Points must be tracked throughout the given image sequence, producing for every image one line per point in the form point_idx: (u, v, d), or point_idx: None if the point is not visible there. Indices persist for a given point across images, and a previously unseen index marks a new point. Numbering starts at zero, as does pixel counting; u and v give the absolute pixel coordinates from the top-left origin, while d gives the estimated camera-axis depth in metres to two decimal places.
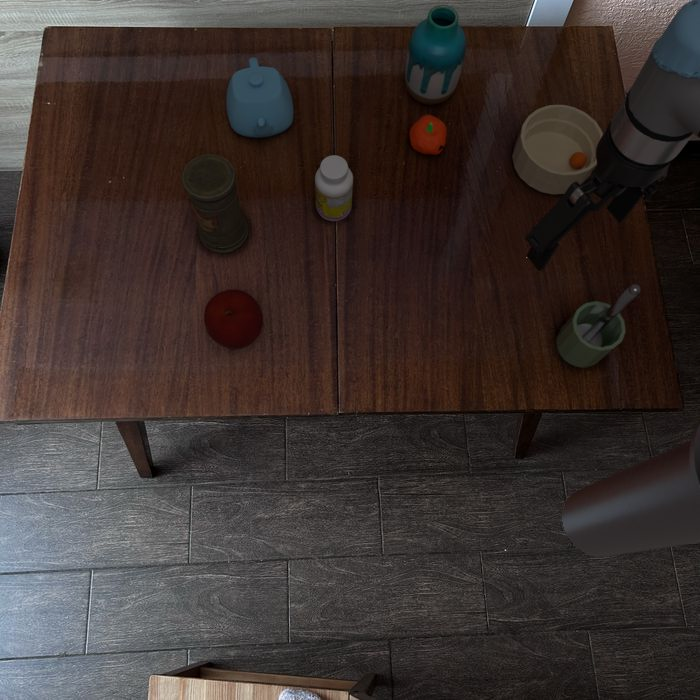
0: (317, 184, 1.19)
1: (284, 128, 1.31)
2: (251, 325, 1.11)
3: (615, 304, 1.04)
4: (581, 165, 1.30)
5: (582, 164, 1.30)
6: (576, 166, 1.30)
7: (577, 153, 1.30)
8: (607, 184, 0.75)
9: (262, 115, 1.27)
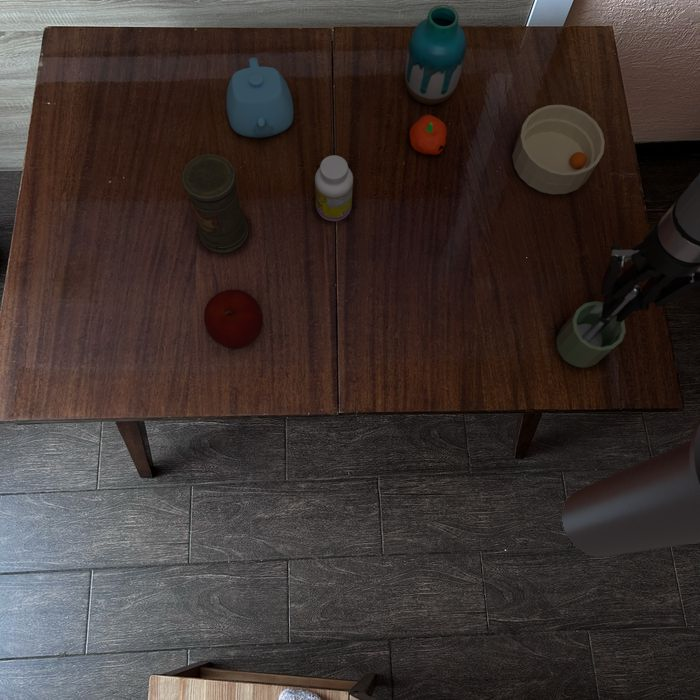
0: (317, 184, 1.19)
1: (284, 128, 1.31)
2: (251, 325, 1.11)
3: None
4: (581, 165, 1.30)
5: (582, 164, 1.30)
6: (576, 166, 1.30)
7: (577, 153, 1.30)
8: (641, 255, 0.89)
9: (262, 115, 1.27)
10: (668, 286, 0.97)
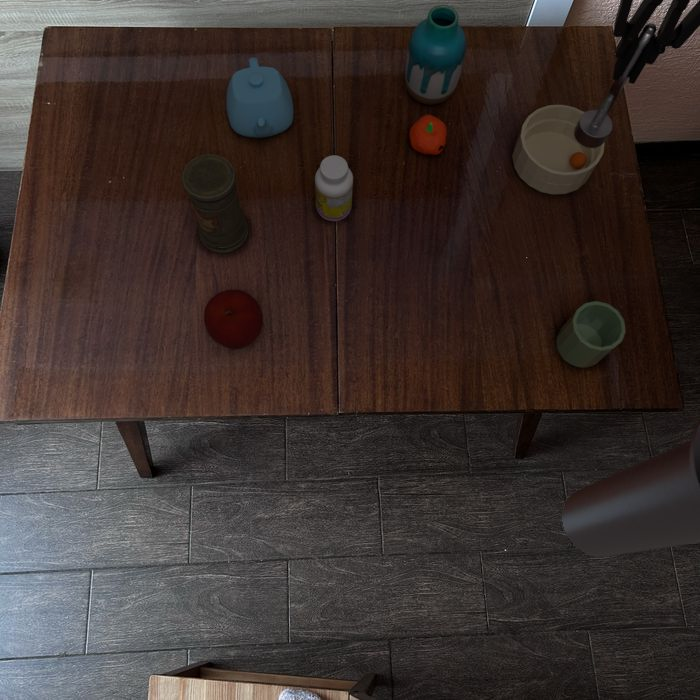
0: (317, 184, 1.19)
1: (284, 128, 1.31)
2: (251, 325, 1.11)
3: None
4: (581, 165, 1.30)
5: (582, 164, 1.30)
6: (576, 166, 1.30)
7: (577, 153, 1.30)
8: None
9: (262, 115, 1.27)
10: (687, 19, 0.89)
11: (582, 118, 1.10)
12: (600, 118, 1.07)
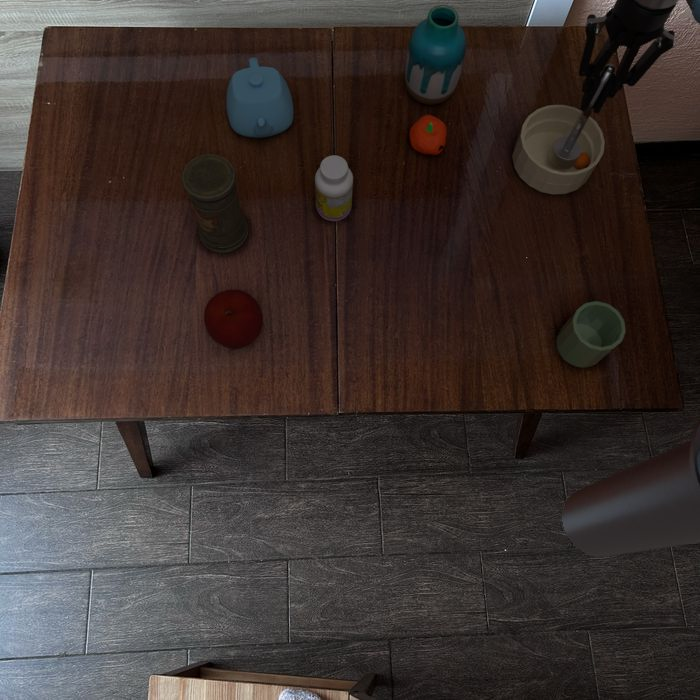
0: (317, 184, 1.19)
1: (284, 128, 1.31)
2: (251, 325, 1.11)
3: None
4: (583, 166, 1.30)
5: (585, 165, 1.30)
6: (579, 166, 1.30)
7: (582, 153, 1.30)
8: (613, 17, 0.99)
9: (262, 115, 1.27)
10: (639, 62, 1.07)
11: (556, 141, 1.28)
12: (569, 143, 1.25)
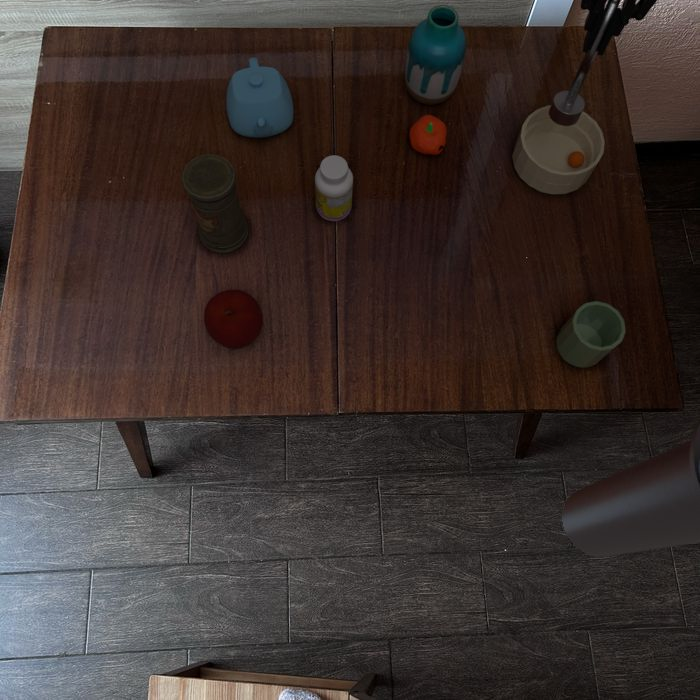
0: (317, 184, 1.19)
1: (284, 128, 1.31)
2: (251, 325, 1.11)
3: None
4: (579, 163, 1.30)
5: (579, 162, 1.30)
6: (574, 165, 1.30)
7: (573, 152, 1.30)
8: None
9: (262, 115, 1.27)
10: None
11: (558, 94, 1.16)
12: (571, 95, 1.13)
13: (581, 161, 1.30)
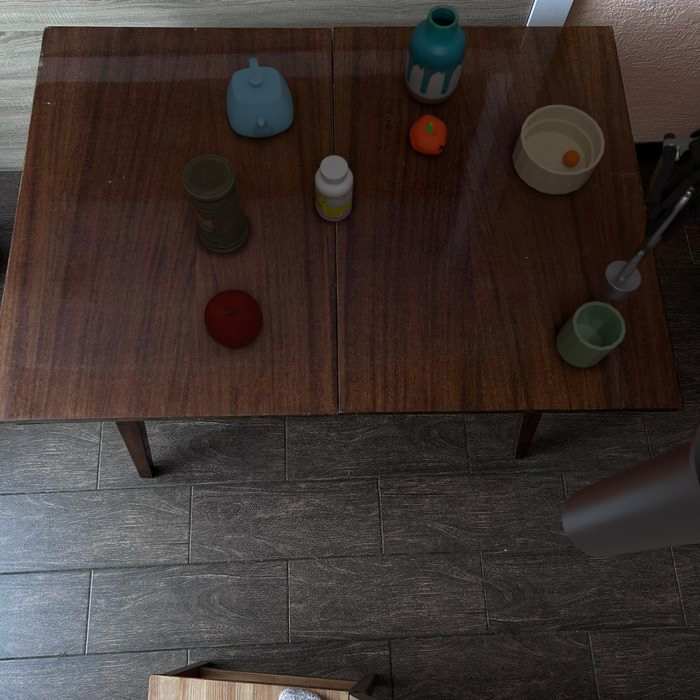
0: (317, 184, 1.19)
1: (284, 128, 1.31)
2: (251, 325, 1.11)
3: None
4: (572, 161, 1.30)
5: (572, 160, 1.30)
6: (569, 164, 1.30)
7: (565, 153, 1.31)
8: None
9: (262, 115, 1.27)
10: None
11: (611, 265, 1.02)
12: (626, 271, 0.99)
13: (574, 158, 1.29)
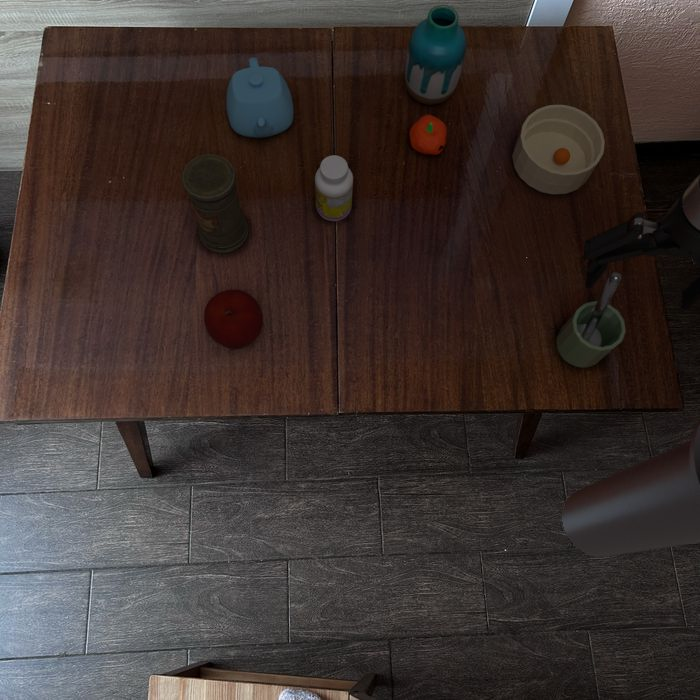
0: (317, 184, 1.19)
1: (284, 128, 1.31)
2: (251, 325, 1.11)
3: None
4: (558, 159, 1.30)
5: (557, 159, 1.30)
6: (560, 163, 1.31)
7: None
8: (663, 232, 0.83)
9: (262, 115, 1.27)
10: None
11: (579, 326, 1.18)
12: (584, 333, 1.15)
13: (556, 157, 1.30)
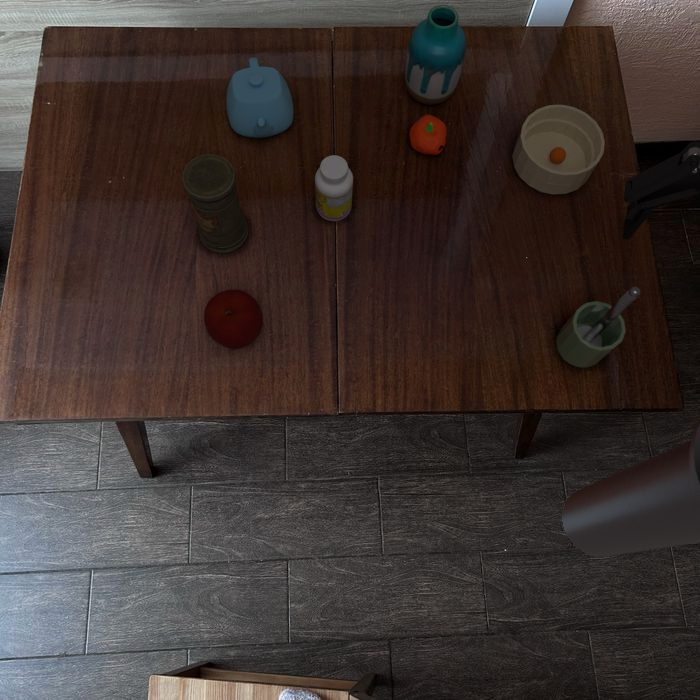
0: (317, 184, 1.19)
1: (284, 128, 1.31)
2: (251, 325, 1.11)
3: (615, 303, 1.04)
4: (553, 160, 1.31)
5: (551, 159, 1.31)
6: (557, 162, 1.31)
7: None
8: None
9: (262, 115, 1.27)
10: None
11: (581, 327, 1.18)
12: (587, 337, 1.15)
13: (551, 157, 1.31)
